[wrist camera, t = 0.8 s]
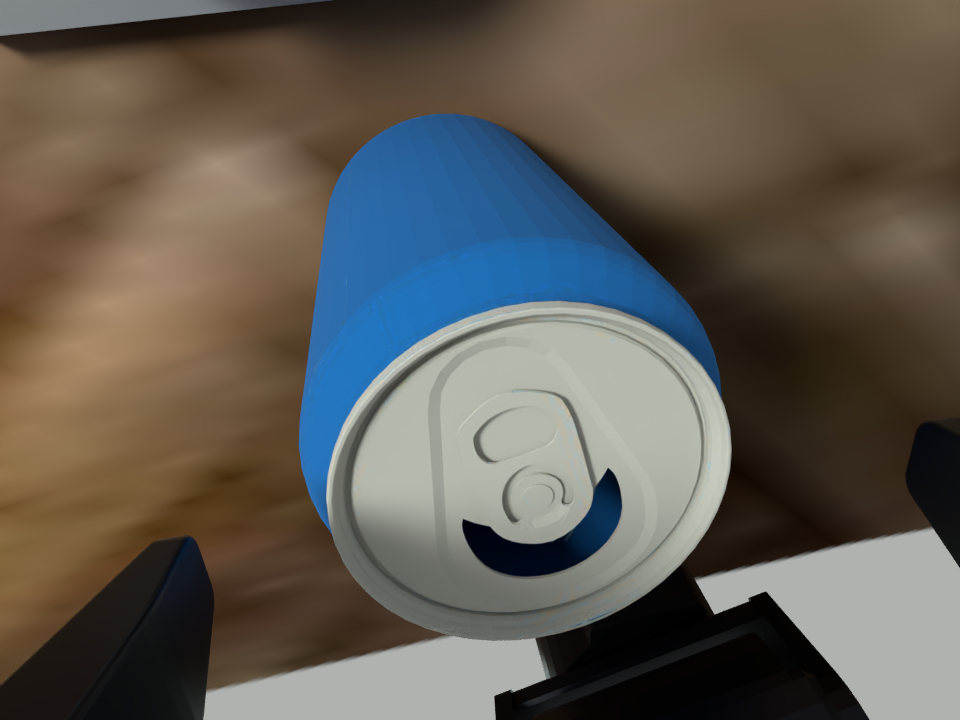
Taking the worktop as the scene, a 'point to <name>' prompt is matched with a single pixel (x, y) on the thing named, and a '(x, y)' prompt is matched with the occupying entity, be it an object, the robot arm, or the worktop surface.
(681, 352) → the beverage can
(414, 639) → the worktop surface
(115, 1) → the socket
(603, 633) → the robot arm
